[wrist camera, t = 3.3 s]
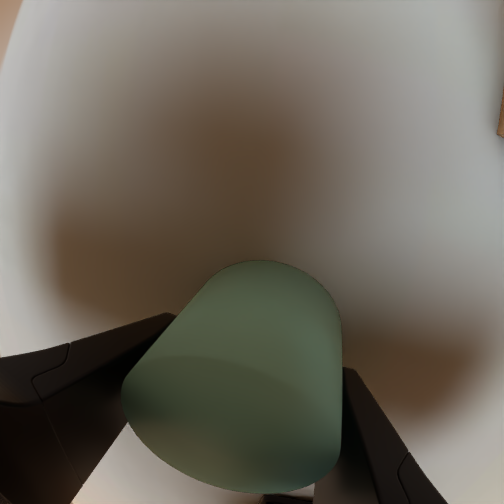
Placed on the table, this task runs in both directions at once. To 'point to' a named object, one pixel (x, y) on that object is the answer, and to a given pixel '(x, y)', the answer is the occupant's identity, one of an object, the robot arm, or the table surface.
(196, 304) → the sage green cylinder
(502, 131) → the tower base
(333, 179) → the table surface
